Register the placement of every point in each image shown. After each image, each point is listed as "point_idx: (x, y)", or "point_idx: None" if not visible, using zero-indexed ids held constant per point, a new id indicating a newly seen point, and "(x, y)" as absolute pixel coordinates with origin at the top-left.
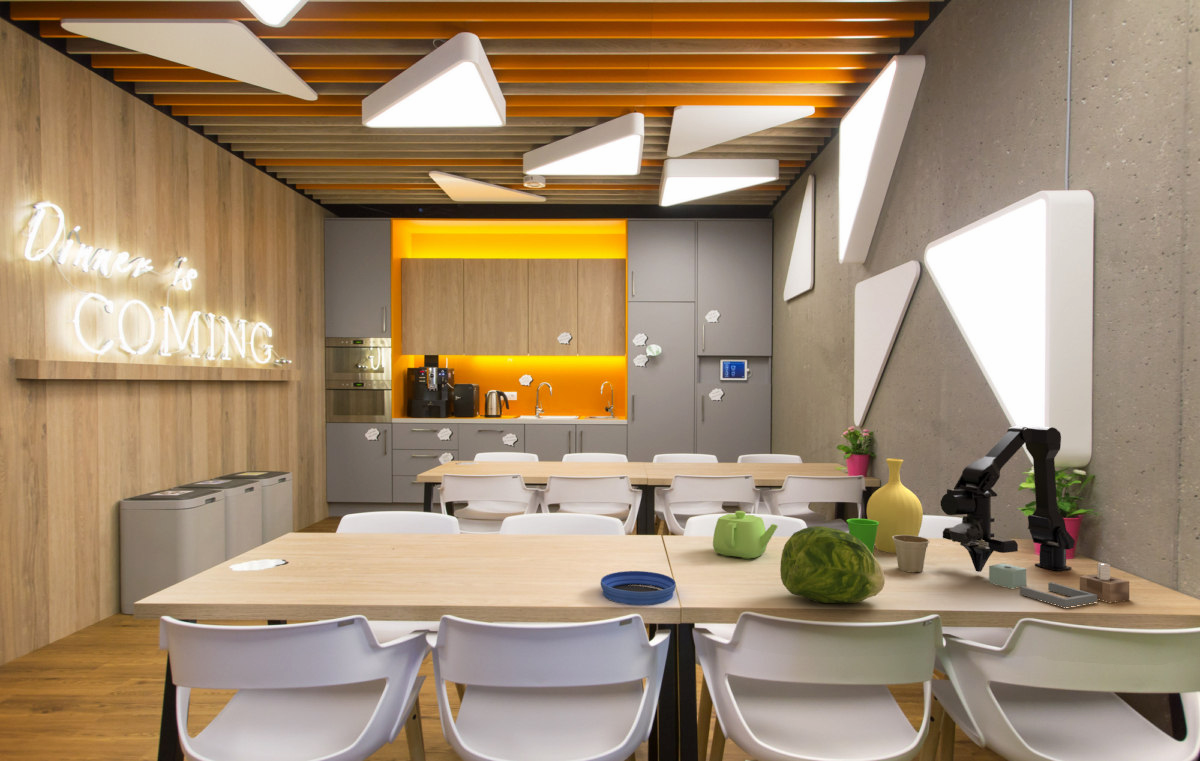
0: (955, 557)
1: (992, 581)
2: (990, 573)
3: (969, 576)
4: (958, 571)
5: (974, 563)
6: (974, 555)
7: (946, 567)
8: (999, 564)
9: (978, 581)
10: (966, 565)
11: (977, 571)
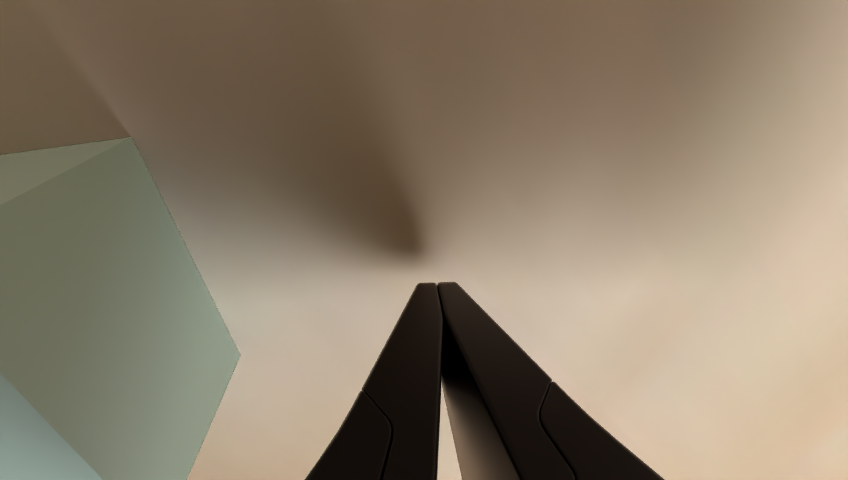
0: (836, 473)
1: (65, 151)
2: (7, 191)
3: (442, 145)
4: (642, 202)
5: (476, 333)
6: (502, 458)
7: (808, 211)
8: (76, 477)
9: (205, 45)
10: (690, 407)
11: (437, 285)
